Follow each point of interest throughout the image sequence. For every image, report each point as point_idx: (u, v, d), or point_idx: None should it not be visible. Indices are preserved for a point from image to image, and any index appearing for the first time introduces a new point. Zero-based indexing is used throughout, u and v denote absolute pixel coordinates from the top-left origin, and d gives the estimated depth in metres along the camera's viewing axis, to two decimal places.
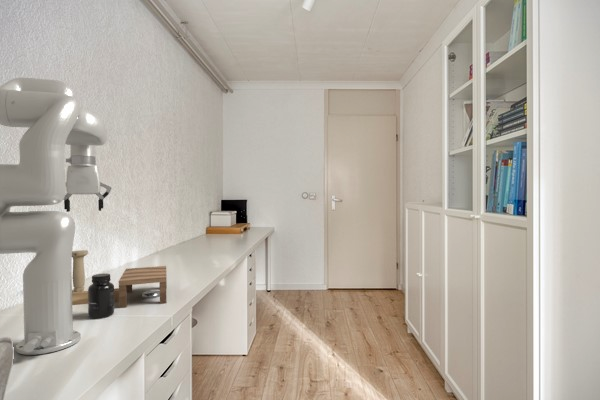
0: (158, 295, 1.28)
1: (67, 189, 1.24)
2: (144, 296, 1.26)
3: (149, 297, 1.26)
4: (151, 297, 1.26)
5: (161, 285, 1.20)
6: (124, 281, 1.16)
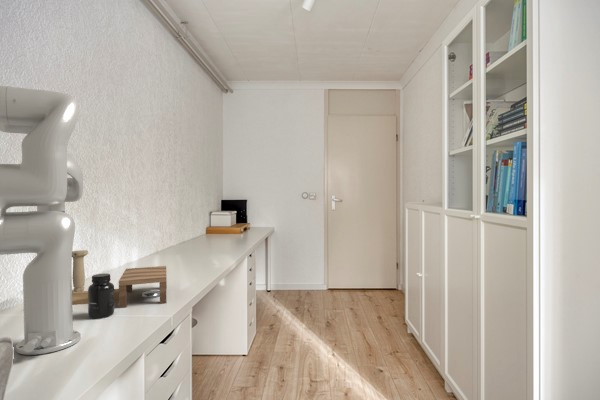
0: (158, 295, 1.28)
1: None
2: (144, 296, 1.26)
3: (149, 297, 1.26)
4: (151, 297, 1.26)
5: (161, 285, 1.20)
6: (124, 281, 1.16)
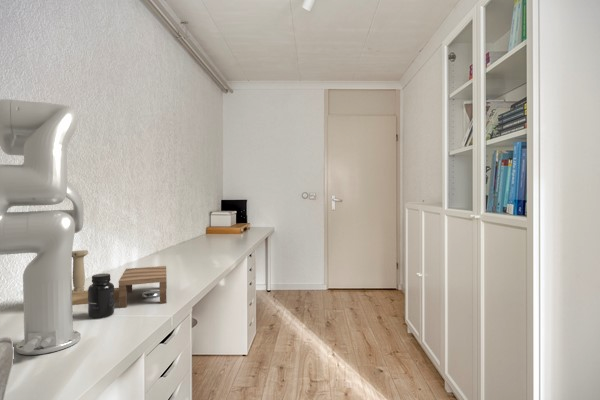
0: (158, 295, 1.28)
1: None
2: (144, 296, 1.26)
3: (149, 297, 1.26)
4: (151, 297, 1.26)
5: (161, 285, 1.20)
6: (124, 281, 1.16)
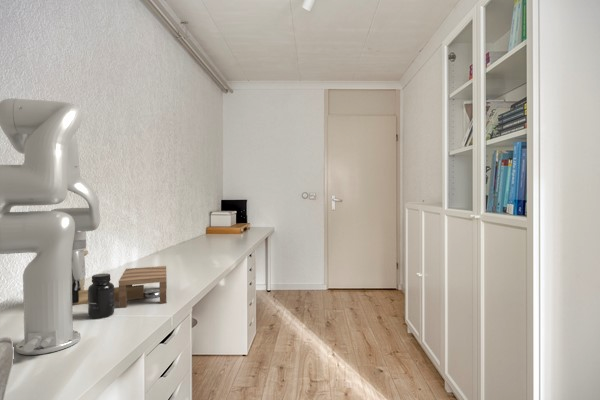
0: None
1: (79, 276, 1.18)
2: (146, 295, 1.27)
3: (151, 296, 1.26)
4: (152, 296, 1.26)
5: (161, 285, 1.20)
6: (124, 281, 1.16)
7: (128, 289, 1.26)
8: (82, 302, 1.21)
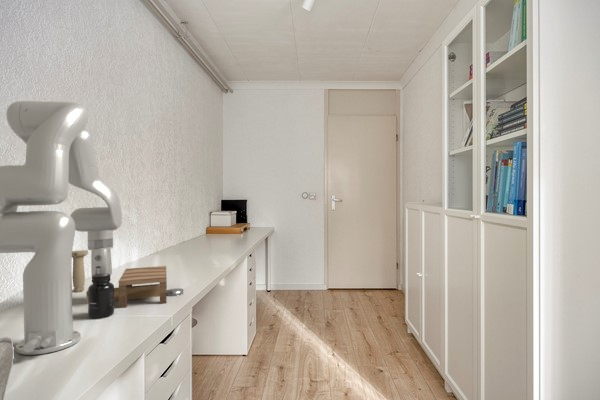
0: (182, 293, 1.31)
1: None
2: (168, 294, 1.29)
3: (174, 294, 1.29)
4: (175, 294, 1.29)
5: (161, 285, 1.20)
6: (124, 281, 1.16)
7: (151, 287, 1.28)
8: None
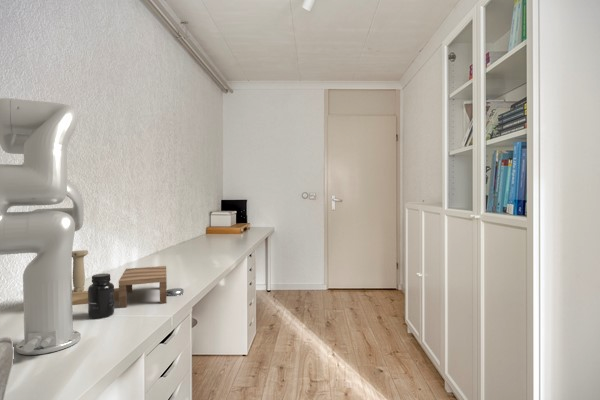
0: (182, 292, 1.31)
1: None
2: (169, 294, 1.29)
3: (174, 294, 1.29)
4: (175, 294, 1.29)
5: (161, 285, 1.20)
6: (124, 281, 1.16)
7: None
8: None
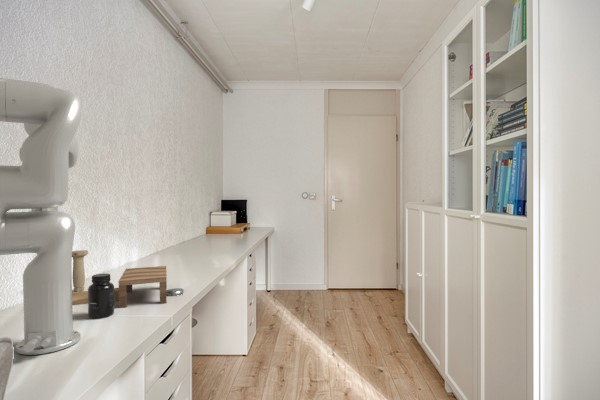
0: (182, 292, 1.31)
1: None
2: (169, 294, 1.29)
3: (174, 294, 1.29)
4: (176, 294, 1.29)
5: (161, 285, 1.20)
6: (124, 281, 1.16)
7: None
8: None
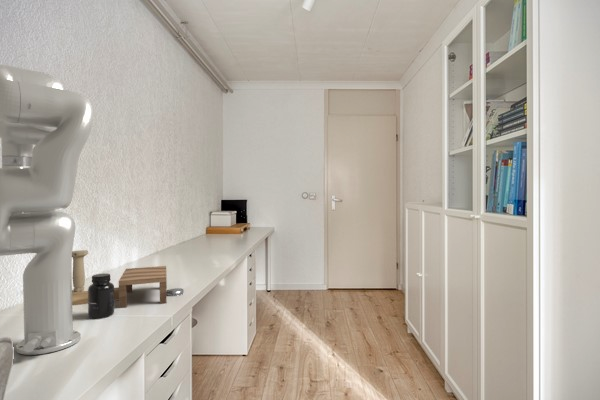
0: (182, 292, 1.31)
1: None
2: (169, 294, 1.29)
3: (174, 294, 1.29)
4: (176, 294, 1.29)
5: (161, 285, 1.20)
6: (124, 281, 1.16)
7: None
8: None
